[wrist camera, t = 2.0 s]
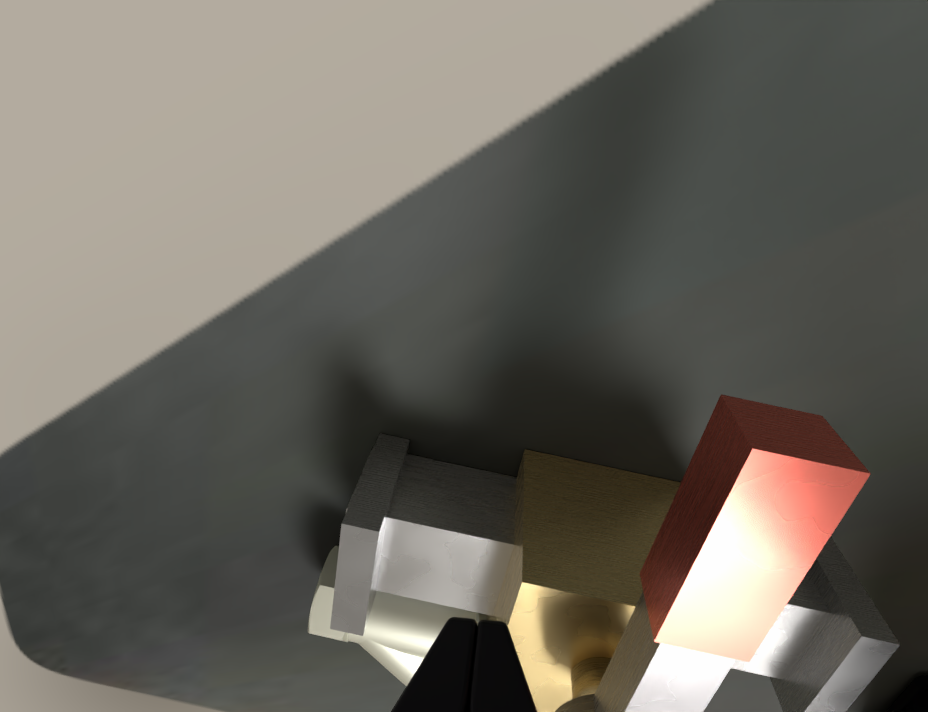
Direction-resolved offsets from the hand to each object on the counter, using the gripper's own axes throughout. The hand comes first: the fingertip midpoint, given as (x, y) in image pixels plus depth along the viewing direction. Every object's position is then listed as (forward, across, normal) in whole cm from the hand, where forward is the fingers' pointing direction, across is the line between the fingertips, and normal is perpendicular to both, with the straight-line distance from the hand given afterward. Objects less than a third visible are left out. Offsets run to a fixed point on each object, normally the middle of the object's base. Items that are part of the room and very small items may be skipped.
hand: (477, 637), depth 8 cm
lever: (+4, -4, +5) cm, 8 cm away
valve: (+12, -3, +9) cm, 16 cm away
